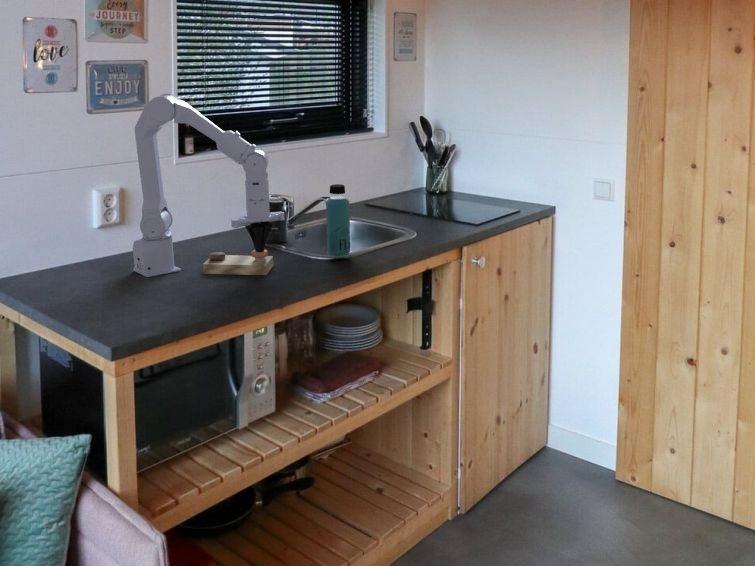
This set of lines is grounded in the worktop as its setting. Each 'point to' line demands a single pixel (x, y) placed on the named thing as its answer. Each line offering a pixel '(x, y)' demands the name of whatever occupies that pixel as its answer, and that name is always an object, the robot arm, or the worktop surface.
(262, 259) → the terracotta plunger
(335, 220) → the beverage bottle
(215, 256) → the walnut plunger
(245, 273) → the board
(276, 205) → the supplement bottle
